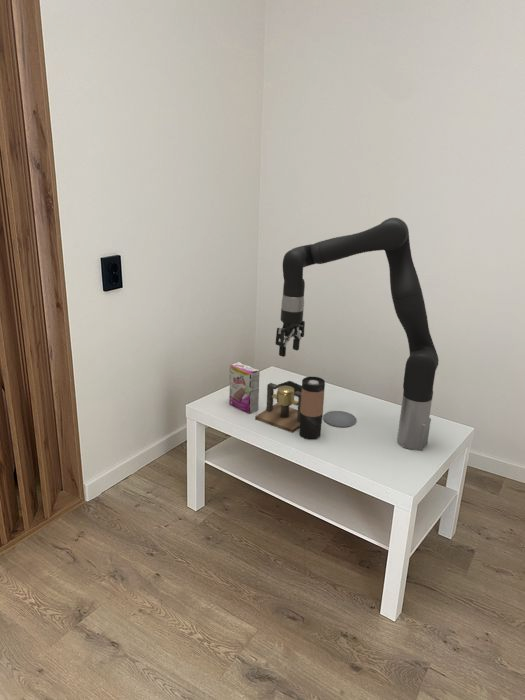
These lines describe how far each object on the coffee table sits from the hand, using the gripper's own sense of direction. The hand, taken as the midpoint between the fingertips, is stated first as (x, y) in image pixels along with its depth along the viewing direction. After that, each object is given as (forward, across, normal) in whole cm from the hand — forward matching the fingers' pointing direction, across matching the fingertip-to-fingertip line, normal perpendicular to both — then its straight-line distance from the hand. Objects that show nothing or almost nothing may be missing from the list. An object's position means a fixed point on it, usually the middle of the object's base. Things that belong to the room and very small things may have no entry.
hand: (289, 352), depth 191 cm
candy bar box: (+26, -3, +16) cm, 31 cm away
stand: (+25, -1, 0) cm, 25 cm away
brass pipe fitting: (+19, -1, 0) cm, 19 cm away
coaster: (+25, +12, -16) cm, 32 cm away
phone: (+26, +23, +10) cm, 36 cm away
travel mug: (+25, -5, -14) cm, 29 cm away
